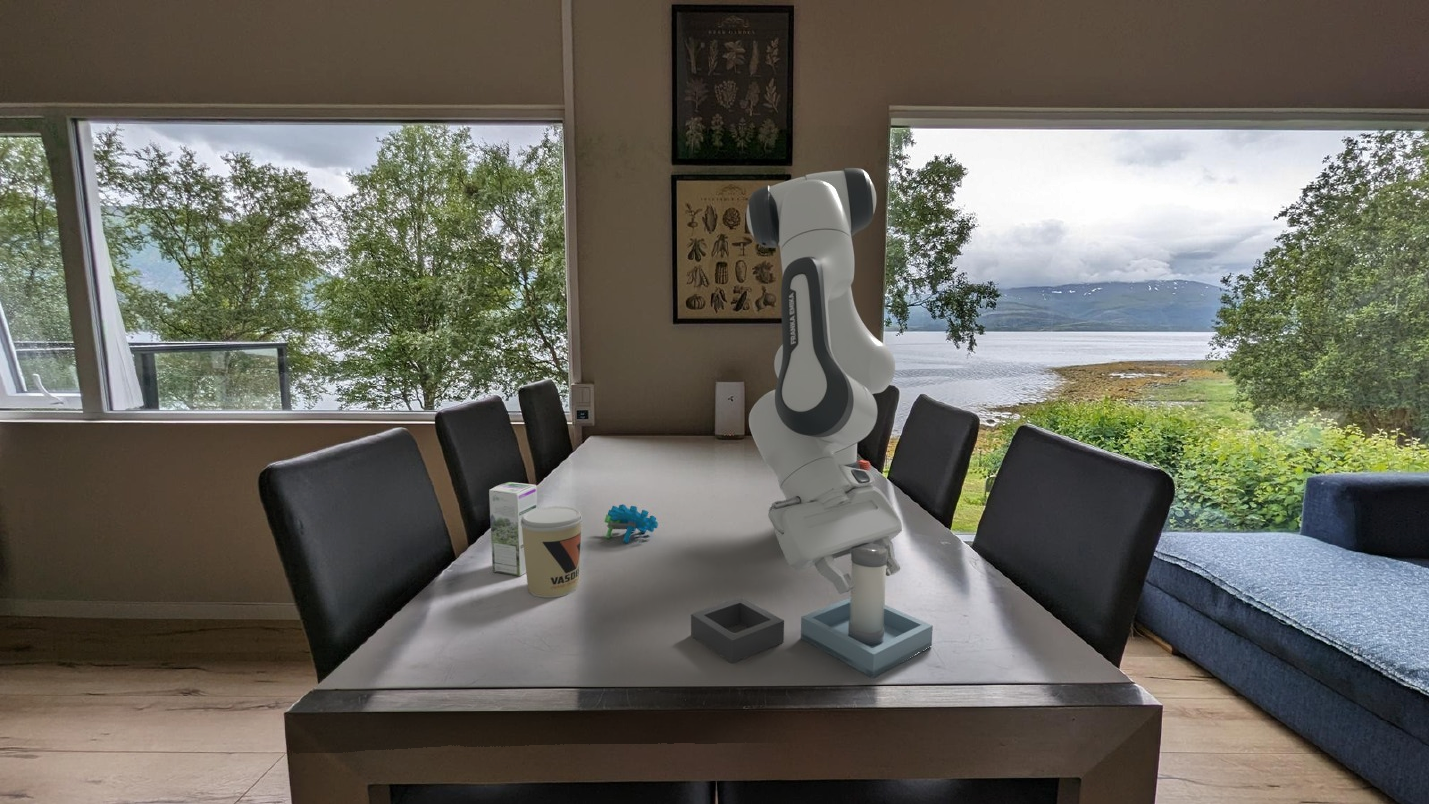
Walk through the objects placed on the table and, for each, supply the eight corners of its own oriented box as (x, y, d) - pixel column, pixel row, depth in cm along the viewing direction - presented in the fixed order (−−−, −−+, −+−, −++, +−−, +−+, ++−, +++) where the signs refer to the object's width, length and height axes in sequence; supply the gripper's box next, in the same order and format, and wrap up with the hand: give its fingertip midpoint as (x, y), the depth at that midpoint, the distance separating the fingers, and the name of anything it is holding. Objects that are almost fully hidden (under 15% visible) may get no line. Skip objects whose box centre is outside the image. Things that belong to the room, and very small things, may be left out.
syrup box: (540, 564, 109) (538, 483, 107) (519, 577, 104) (516, 492, 102) (512, 560, 111) (510, 480, 109) (490, 572, 105) (487, 488, 104)
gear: (667, 527, 125) (644, 501, 118) (659, 554, 121) (635, 529, 115) (621, 526, 130) (596, 501, 123) (612, 553, 126) (586, 528, 119)
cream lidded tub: (552, 605, 94) (550, 527, 92) (509, 591, 98) (507, 516, 97) (595, 584, 101) (594, 511, 100) (554, 571, 106) (552, 502, 105)
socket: (741, 617, 90) (741, 597, 90) (783, 642, 83) (784, 620, 83) (691, 635, 85) (691, 614, 85) (732, 663, 78) (732, 640, 78)
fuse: (863, 625, 86) (866, 540, 85) (891, 638, 83) (895, 550, 82) (840, 635, 84) (844, 547, 82) (868, 648, 80) (872, 557, 79)
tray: (859, 613, 92) (859, 594, 91) (931, 647, 82) (932, 625, 82) (800, 638, 84) (801, 616, 84) (872, 678, 75) (873, 654, 75)
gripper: (775, 491, 80) (830, 591, 74) (877, 469, 92) (932, 553, 86) (751, 517, 84) (802, 613, 78) (852, 492, 96) (903, 574, 90)
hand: (871, 581), depth 82 cm, fingers open, 8 cm apart
